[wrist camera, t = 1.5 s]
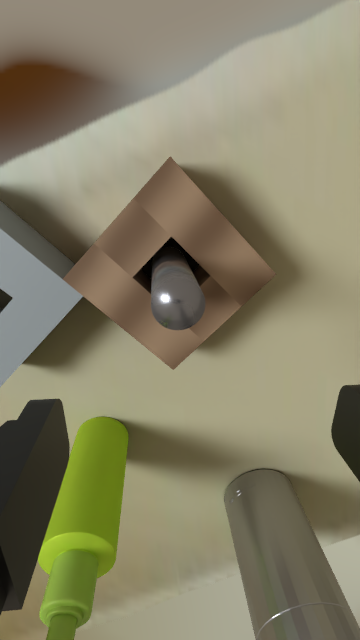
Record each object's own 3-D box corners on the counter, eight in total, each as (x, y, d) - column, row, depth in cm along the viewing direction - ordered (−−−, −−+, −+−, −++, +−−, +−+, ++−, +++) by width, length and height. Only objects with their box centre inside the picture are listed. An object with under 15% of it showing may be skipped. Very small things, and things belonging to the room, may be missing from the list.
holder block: (257, 262, 30) (276, 274, 25) (170, 345, 32) (173, 369, 28) (167, 163, 26) (170, 156, 22) (77, 265, 29) (62, 279, 24)
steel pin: (192, 263, 29) (216, 304, 18) (169, 287, 30) (178, 340, 19) (168, 239, 28) (178, 266, 17) (144, 264, 29) (139, 306, 18)
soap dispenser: (79, 406, 34) (-8, 652, 16) (136, 427, 36) (118, 672, 17) (60, 444, 36) (-39, 706, 18) (116, 462, 38) (79, 719, 19)
